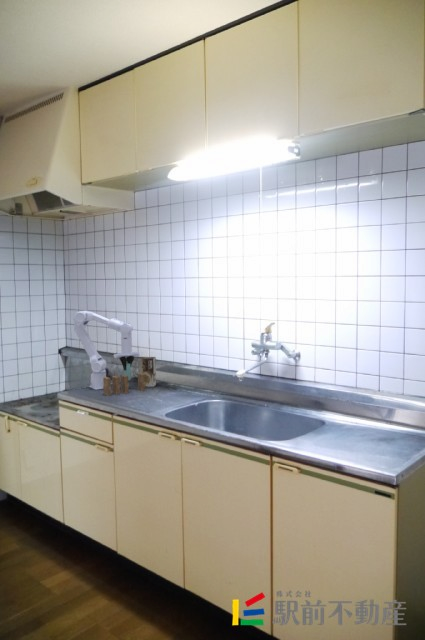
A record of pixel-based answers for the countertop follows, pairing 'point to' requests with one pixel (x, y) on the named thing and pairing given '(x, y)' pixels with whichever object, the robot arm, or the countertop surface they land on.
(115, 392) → the domino
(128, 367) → the domino
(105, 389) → the domino
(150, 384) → the coffee box
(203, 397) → the countertop surface
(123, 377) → the domino
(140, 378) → the domino
